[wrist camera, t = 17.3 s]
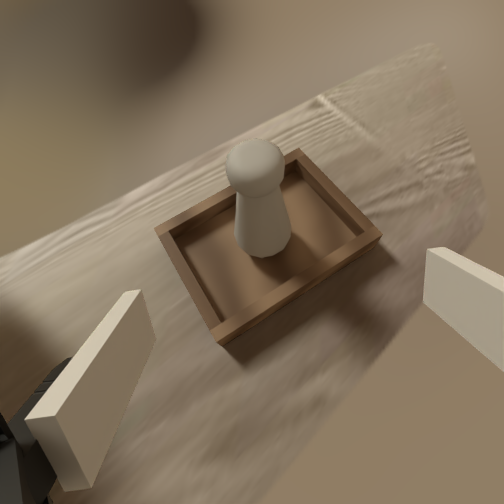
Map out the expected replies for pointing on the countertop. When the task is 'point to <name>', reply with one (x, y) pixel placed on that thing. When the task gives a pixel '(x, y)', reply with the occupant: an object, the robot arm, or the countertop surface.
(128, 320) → the robot arm
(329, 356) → the countertop surface
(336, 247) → the walnut tray
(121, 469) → the countertop surface
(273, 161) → the salt shaker
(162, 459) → the countertop surface
